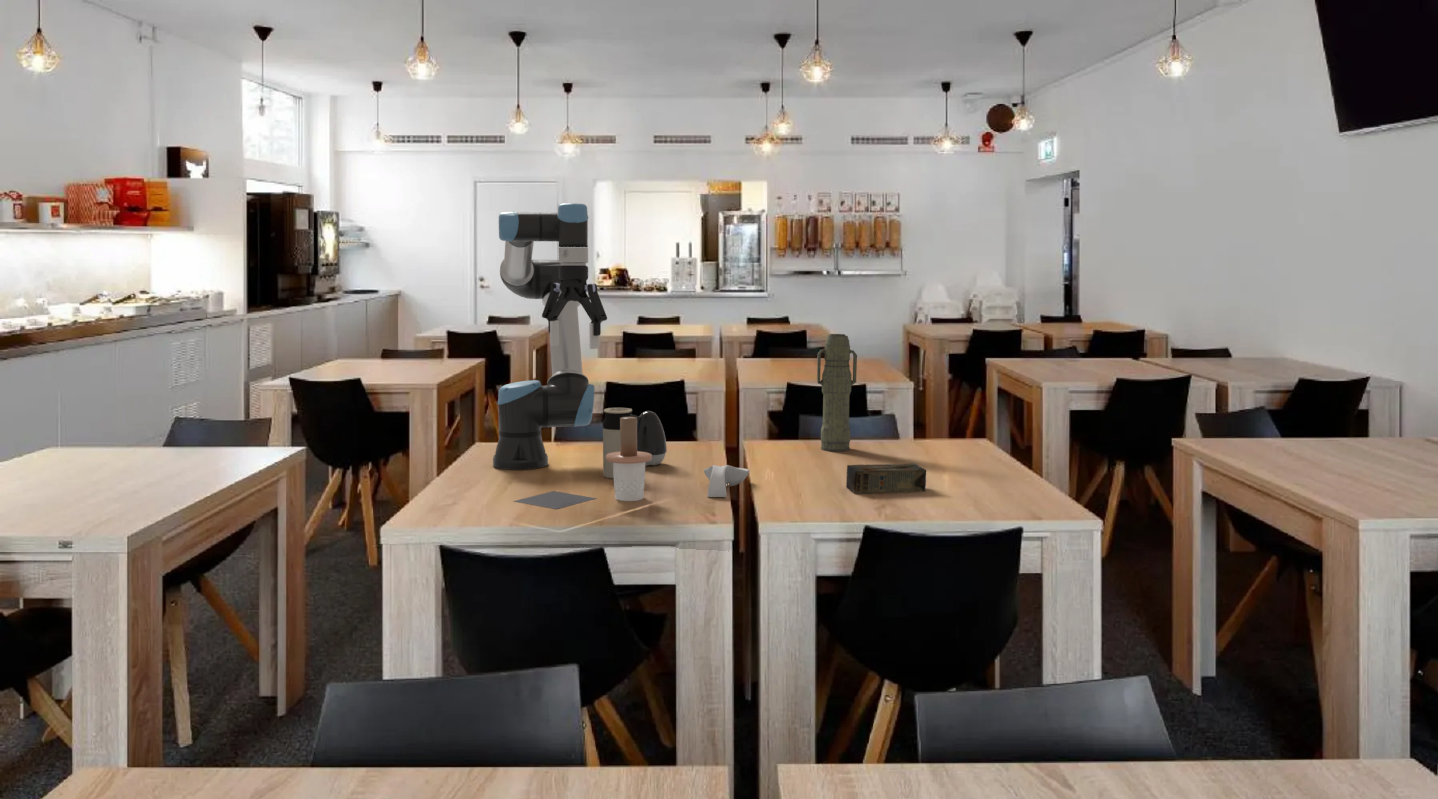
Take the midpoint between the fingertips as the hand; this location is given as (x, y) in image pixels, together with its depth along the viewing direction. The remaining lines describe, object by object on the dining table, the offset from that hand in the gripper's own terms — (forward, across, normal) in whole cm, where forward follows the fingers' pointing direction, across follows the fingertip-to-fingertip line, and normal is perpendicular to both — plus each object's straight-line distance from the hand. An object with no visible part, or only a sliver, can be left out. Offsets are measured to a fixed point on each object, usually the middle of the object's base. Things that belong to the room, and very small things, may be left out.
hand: (574, 347), depth 284 cm
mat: (+35, +14, -23) cm, 44 cm away
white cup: (+35, +27, -11) cm, 45 cm away
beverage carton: (+35, +72, +36) cm, 88 cm away
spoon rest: (+35, +38, +14) cm, 53 cm away
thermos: (+35, +34, +80) cm, 94 cm away
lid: (+25, +27, -11) cm, 38 cm away
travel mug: (+35, +7, +9) cm, 37 cm away
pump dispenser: (+35, +3, +27) cm, 44 cm away
